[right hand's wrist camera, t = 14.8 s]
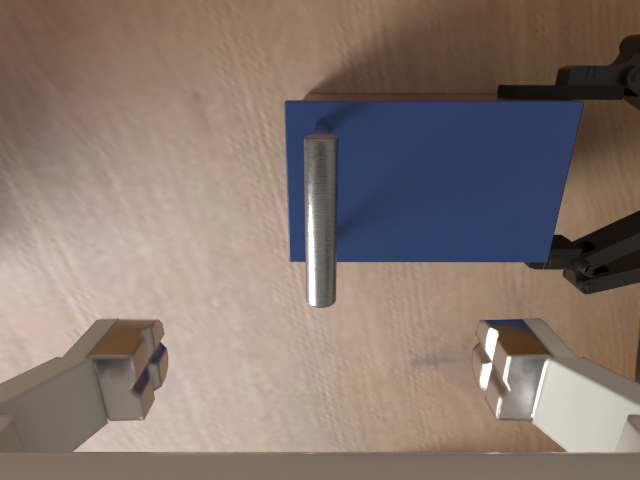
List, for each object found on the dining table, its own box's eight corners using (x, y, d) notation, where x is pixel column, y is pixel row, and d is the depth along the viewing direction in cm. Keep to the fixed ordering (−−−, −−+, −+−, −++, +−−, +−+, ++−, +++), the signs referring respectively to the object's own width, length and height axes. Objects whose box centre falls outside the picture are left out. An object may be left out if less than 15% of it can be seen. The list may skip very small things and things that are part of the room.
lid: (290, 257, 27) (278, 326, 20) (285, 100, 24) (268, 112, 16) (541, 257, 27) (624, 327, 20) (576, 100, 24) (695, 112, 16)
